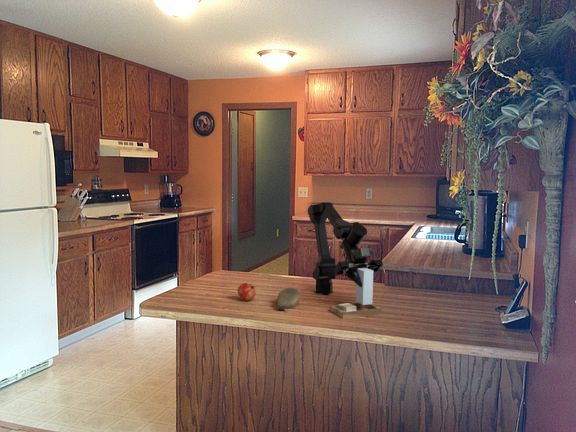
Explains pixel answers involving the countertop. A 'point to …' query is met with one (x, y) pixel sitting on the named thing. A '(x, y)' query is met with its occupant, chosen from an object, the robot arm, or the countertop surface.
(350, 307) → the offcut upper
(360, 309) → the wooden tray
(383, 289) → the countertop surface
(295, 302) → the stone
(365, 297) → the pale blue rectangular block
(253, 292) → the pomegranate
